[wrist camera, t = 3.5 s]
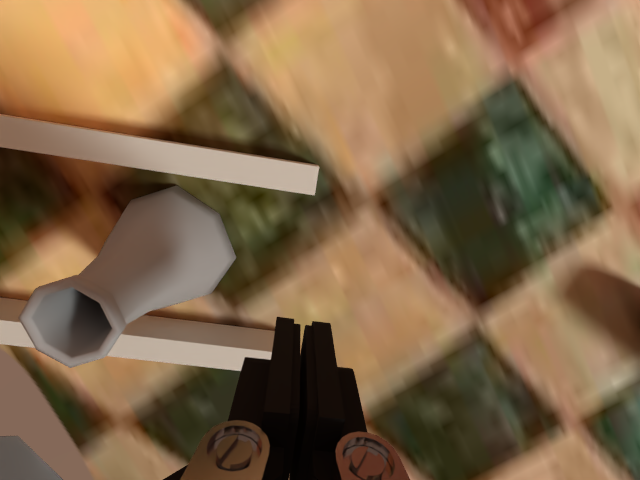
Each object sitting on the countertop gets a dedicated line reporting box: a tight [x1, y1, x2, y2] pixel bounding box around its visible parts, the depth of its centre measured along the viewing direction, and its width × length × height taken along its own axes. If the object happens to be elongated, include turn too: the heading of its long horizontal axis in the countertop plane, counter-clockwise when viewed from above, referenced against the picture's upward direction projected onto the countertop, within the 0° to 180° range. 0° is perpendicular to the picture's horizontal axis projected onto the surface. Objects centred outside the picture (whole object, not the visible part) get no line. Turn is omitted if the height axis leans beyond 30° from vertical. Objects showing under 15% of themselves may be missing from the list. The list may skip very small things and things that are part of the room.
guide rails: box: [0, 114, 319, 371], centre depth 20 cm, size 24×12×2 cm, turn 81°
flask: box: [18, 186, 236, 368], centre depth 17 cm, size 7×7×10 cm
